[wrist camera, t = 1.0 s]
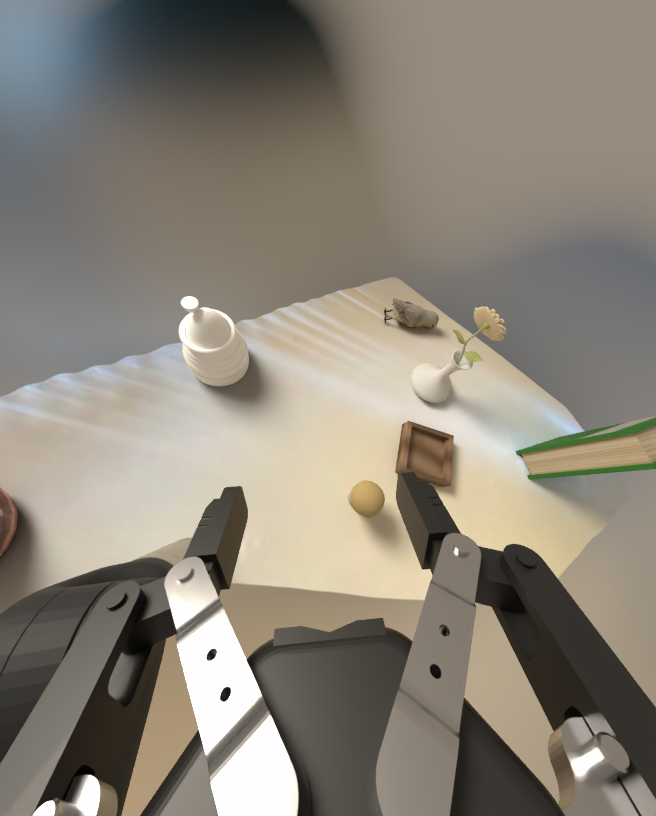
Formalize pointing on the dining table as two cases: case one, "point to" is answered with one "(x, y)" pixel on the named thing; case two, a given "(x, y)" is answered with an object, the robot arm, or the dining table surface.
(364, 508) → the light bulb
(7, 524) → the pottery
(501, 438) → the dining table surface
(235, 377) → the honey pot
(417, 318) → the decorative bird
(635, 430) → the hardback book
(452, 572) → the robot arm
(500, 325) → the flower in vase
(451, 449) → the walnut tray
